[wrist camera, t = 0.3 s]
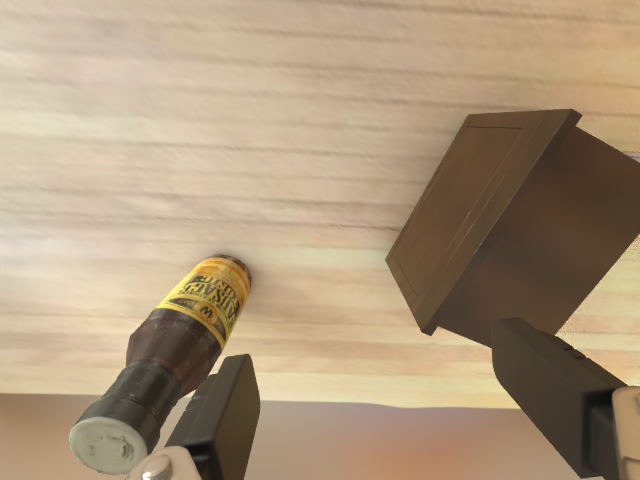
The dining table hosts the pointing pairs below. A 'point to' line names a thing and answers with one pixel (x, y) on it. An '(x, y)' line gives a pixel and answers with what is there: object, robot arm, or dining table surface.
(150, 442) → the sauce bottle
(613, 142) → the dining table surface
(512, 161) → the shelf
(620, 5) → the dining table surface
